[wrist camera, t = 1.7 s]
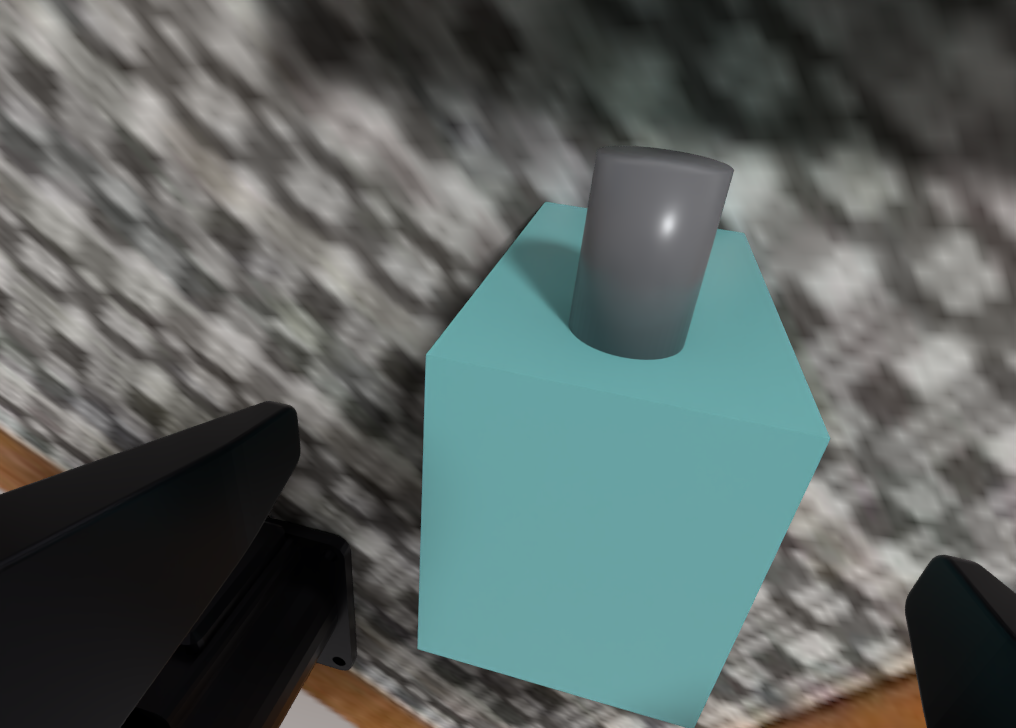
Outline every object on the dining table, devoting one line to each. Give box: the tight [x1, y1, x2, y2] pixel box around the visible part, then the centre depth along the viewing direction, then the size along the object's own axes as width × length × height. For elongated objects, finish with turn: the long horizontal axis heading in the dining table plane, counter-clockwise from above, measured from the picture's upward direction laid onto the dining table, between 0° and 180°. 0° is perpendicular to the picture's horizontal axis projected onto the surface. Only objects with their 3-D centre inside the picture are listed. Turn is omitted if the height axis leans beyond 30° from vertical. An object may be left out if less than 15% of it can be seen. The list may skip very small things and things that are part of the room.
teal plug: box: [418, 146, 830, 728], centre depth 9 cm, size 7×4×7 cm, turn 174°
